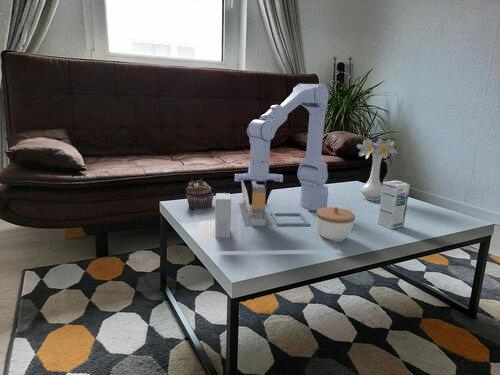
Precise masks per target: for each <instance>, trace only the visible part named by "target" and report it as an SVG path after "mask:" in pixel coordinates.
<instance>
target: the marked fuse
mask: <svg viewBox="0 0 500 375" xmlns="http://www.w3.org/2000/svg"><path fill="white" fill-rule="evenodd" d="M265 197H266V187H265V186H264V184H257V185H253V187H252V205H250V210H251V213H265V214H266V211H265V210H266V205H265Z"/></svg>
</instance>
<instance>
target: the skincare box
mask: <svg viewBox="0 0 500 375" xmlns="http://www.w3.org/2000/svg"><path fill="white" fill-rule="evenodd" d="M231 196H232V195H231V193H229V192H228V193H225V192H223V193H222V192H220V193H218V192H217V193H215V208H214V209H215V210H214V211H215V213H214V214H215V216H214V217H215V220H214V221H215V222H214V224H215V228H214V230H215V233H214V235H215V238H216V239H217V238H221V239H227V238H231V216H232V215H231V213H232V212H231V211H232V207H231V206H232V198H231Z"/></svg>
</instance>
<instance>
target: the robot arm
mask: <svg viewBox="0 0 500 375" xmlns="http://www.w3.org/2000/svg"><path fill="white" fill-rule="evenodd" d="M328 100H329V89H328V87H327V86H326V85H325V84H324V83H298V84H297V85H296V86H294V87H293V89H292V92H291V93H290V95H289V96H287V98H286V99H285V100H284V101H283V102H281V104H280V105H279V104H275V105H274V104H273V105H271V106H270V108H269V109H268V110H267V111H266V112H265V113H264V114H262V115H260V117H259V118H258V119H253V120H252V121H250V123H249V124H248V126H247V128H246V134H247V136H248V137H249V138H248V139H249V141H248V142H249V144H250V154H249V156H250V157H249V164H250V173H248V172H245V173H235V174H234V182H241V181H243V182H244V185H245V187H246V190H247V194H248V199H249V205H252V187H253V185H252V182H251V181H256V182H264V183H263V185H264V186H265V187H266V197H265V206H267V205H268V199H269V197H270V195H271V192H272V190H273V189H274V187H275V185H276V183H275V182H280V183H283V181H284V175H283V174H279V173H269V172H270V170H269V168H270V167H269V166H270V152H271V151H270V150H271V140H273V139H274V137H275V135H276V133H277V131H278V128H279V127H280V126H282V125H283V124H284V123H285V122H286V121H287V119H288V116H289V113H291V112H292V111H294V110H295V109H296V108H297V107H298V106H303V108H305V109H306V110H307V111H308V113H309V115H308V116H309V117H308V118H309V119H308V129H307V130H308V131H307V140H306V141H307V142H306V151H305V152H306V153H305V157H304V158H303V159H302V160H300V161H299V166H298V170H297V172H296V173H297V174H296V175H297V179H298V180H299V183H300V185H301V188H300V199H299V206H300V207H301V208H303V209H307V210H308V211H316V212H317V210H318V209H320V208H325V207H327V206H328V197H329V188H328V186H327V184H326V182H327V181H328V178H329V172H328V164H327V163H326V161H325V160H324V159H323V158H322V151H323V142H324V132H325V131H324V130H325V119H326V110H327V109H328V103H329V101H328Z"/></svg>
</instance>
